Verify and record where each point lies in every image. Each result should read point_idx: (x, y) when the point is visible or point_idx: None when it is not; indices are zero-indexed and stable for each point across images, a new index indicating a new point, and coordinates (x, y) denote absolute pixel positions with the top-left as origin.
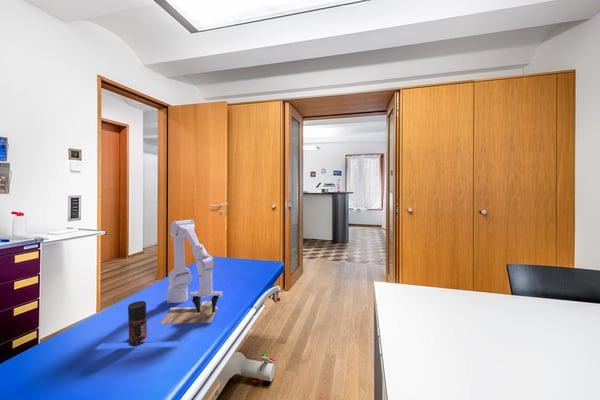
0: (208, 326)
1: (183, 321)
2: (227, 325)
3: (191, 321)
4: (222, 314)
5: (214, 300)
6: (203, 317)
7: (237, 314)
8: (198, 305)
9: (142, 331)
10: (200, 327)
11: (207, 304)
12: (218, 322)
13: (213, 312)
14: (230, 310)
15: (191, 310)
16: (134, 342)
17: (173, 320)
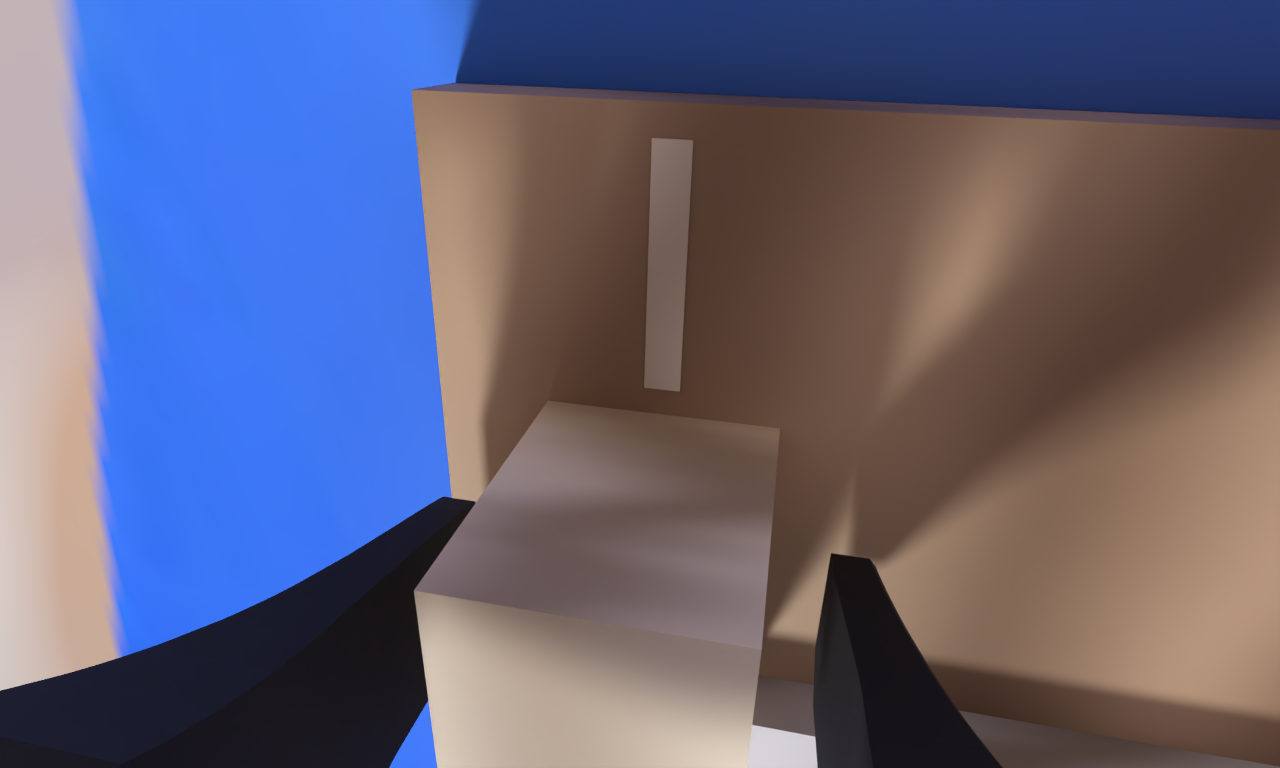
0: (491, 58)
1: (1274, 244)
2: (79, 67)
3: (993, 216)
4: (371, 530)
5: (2, 726)
6: (679, 383)
7: (101, 478)
8: (853, 746)
9: None
10: (687, 22)
11: (515, 711)
12: (326, 227)
13: (440, 498)
14: None
15: (1076, 747)
16: None
17: None
